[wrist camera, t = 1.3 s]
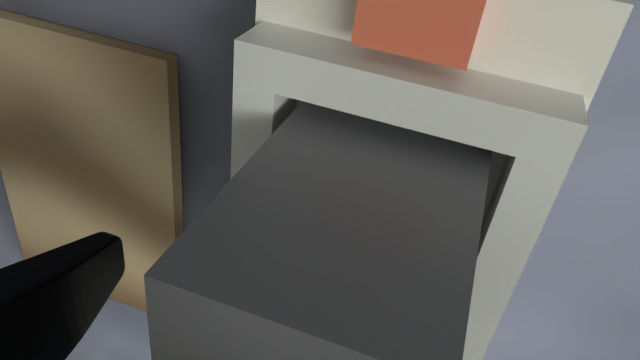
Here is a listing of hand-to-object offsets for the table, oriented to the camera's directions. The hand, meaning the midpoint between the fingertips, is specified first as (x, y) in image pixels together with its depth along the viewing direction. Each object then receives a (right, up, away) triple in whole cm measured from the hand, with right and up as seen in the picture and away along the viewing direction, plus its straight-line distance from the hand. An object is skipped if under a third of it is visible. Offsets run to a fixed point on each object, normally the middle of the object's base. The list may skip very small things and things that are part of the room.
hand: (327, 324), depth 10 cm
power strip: (+2, +1, +8) cm, 8 cm away
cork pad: (-9, +3, +11) cm, 15 cm away
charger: (+1, +3, +4) cm, 5 cm away
